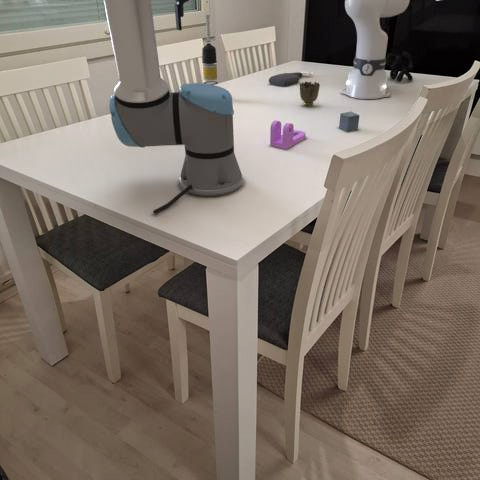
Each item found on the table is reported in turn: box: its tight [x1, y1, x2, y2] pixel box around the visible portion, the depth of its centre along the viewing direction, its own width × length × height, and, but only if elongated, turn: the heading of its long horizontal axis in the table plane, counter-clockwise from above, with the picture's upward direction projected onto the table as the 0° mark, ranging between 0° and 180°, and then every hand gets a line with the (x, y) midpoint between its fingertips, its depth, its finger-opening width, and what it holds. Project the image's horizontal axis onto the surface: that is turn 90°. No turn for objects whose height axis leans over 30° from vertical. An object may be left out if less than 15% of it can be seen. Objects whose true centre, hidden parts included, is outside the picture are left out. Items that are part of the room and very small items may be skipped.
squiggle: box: [385, 51, 414, 83], centre depth 198 cm, size 11×10×15 cm
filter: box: [201, 14, 219, 85], centre depth 171 cm, size 6×6×30 cm
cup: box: [299, 81, 321, 107], centre depth 165 cm, size 8×7×8 cm
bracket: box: [269, 119, 306, 150], centre depth 133 cm, size 13×6×7 cm, turn 143°
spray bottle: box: [268, 70, 315, 87], centre depth 203 cm, size 3×11×24 cm
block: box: [338, 111, 361, 133], centre depth 143 cm, size 4×4×5 cm
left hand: (156, 31), depth 127 cm, fingers open, 13 cm apart
